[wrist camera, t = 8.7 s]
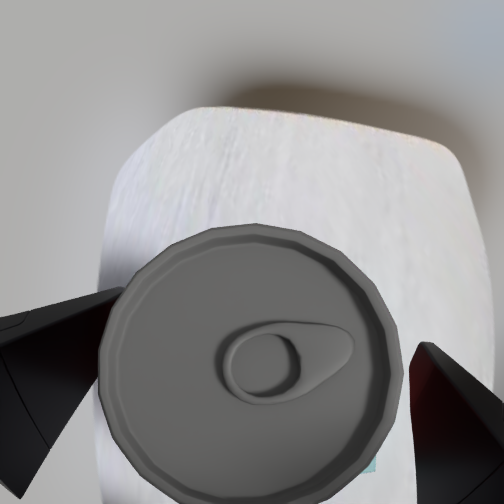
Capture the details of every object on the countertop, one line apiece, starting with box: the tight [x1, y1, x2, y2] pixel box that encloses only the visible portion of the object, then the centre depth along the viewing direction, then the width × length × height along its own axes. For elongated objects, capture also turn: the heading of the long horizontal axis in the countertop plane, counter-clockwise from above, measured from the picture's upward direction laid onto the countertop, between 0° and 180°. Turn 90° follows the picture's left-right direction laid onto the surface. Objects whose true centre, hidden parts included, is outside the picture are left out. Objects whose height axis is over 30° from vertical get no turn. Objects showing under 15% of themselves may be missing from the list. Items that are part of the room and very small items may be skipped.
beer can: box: [98, 223, 404, 504], centre depth 10 cm, size 7×7×12 cm
